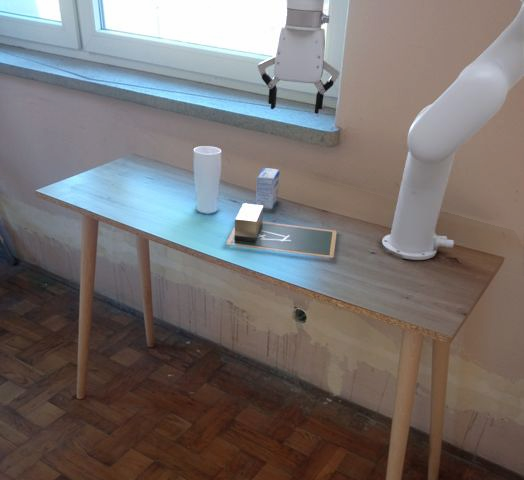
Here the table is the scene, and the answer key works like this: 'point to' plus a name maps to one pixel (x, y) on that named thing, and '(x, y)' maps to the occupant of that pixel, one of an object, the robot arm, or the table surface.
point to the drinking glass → (207, 177)
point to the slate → (292, 239)
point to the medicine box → (267, 188)
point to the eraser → (248, 223)
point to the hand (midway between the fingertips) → (294, 110)
